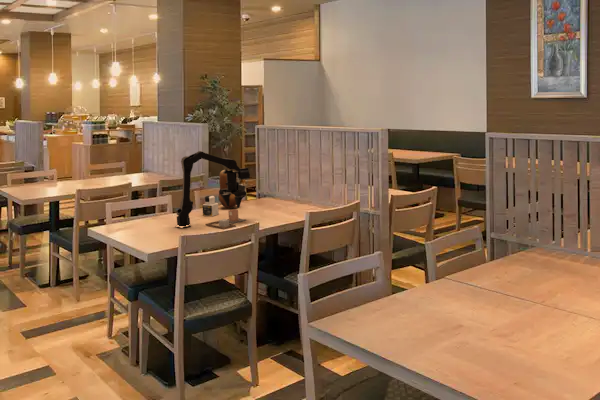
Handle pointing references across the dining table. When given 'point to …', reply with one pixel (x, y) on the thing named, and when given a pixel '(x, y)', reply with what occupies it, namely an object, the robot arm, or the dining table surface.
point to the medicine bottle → (210, 206)
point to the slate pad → (236, 221)
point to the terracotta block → (233, 215)
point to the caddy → (220, 226)
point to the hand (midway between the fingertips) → (233, 207)
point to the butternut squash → (222, 186)
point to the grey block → (223, 222)
